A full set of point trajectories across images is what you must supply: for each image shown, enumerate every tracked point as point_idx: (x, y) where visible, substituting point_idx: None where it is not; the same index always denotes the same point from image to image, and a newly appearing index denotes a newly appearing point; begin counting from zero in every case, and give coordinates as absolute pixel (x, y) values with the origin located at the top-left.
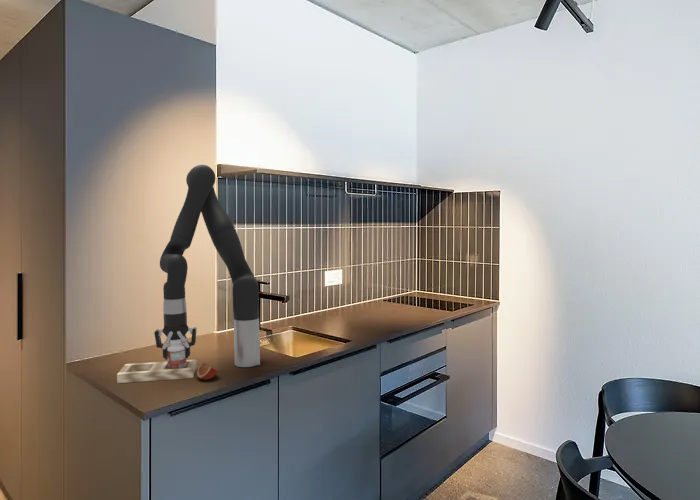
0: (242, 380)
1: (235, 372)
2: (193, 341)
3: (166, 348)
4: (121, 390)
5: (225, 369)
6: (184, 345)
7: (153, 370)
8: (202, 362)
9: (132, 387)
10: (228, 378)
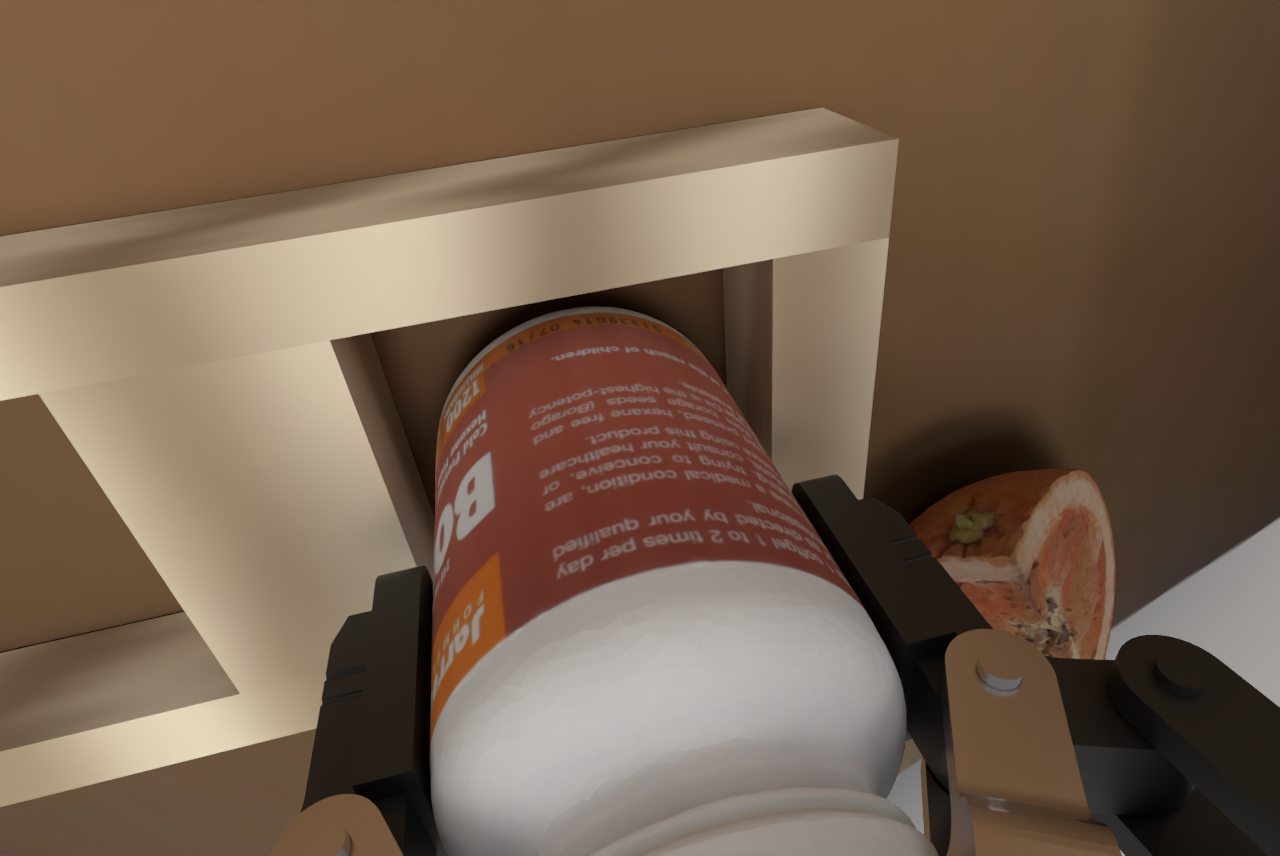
0: (1228, 544)
1: (1259, 346)
2: (1191, 852)
3: (431, 852)
4: (155, 840)
5: (1197, 231)
6: (899, 767)
7: (304, 682)
8: (1017, 569)
9: (221, 780)
10: (1138, 510)
